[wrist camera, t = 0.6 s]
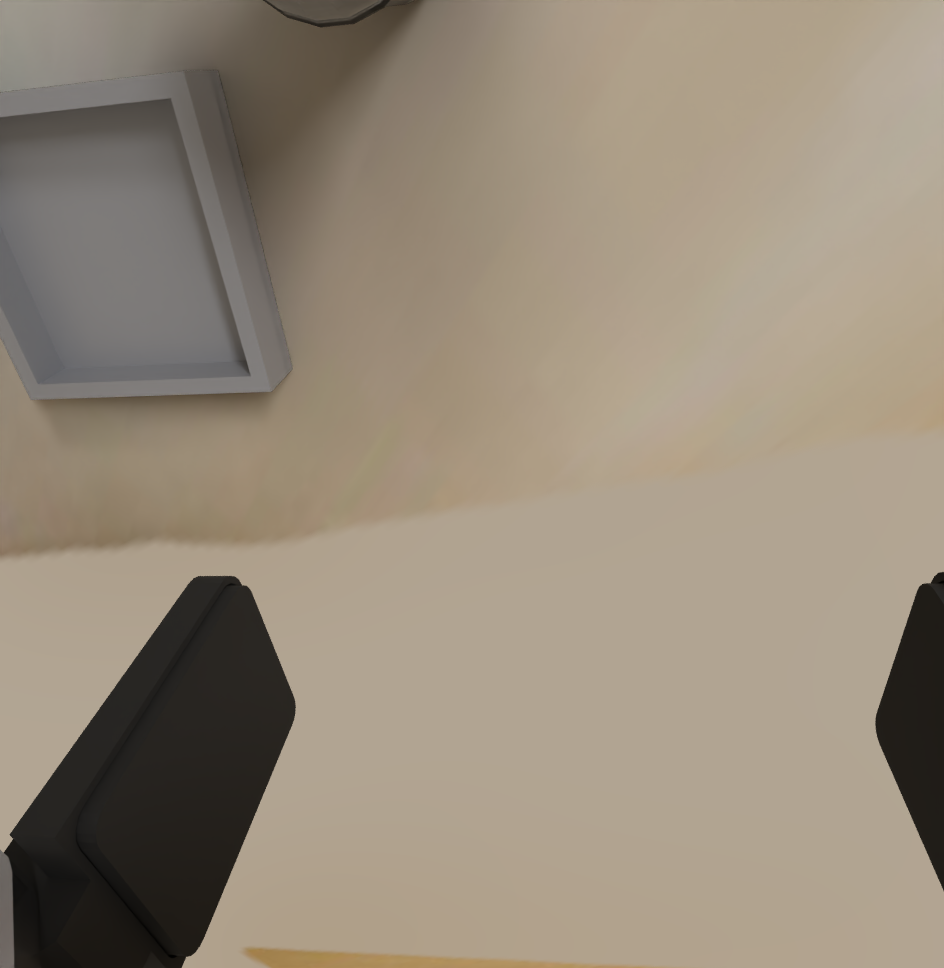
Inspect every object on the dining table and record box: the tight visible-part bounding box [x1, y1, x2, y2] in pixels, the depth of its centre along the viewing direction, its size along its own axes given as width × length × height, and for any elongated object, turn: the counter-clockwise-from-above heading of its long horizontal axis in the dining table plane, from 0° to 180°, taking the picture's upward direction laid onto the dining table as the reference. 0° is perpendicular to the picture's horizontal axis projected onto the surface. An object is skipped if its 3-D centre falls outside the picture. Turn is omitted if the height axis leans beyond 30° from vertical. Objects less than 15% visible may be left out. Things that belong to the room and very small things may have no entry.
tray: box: [0, 70, 293, 400], centre depth 37 cm, size 16×16×4 cm
